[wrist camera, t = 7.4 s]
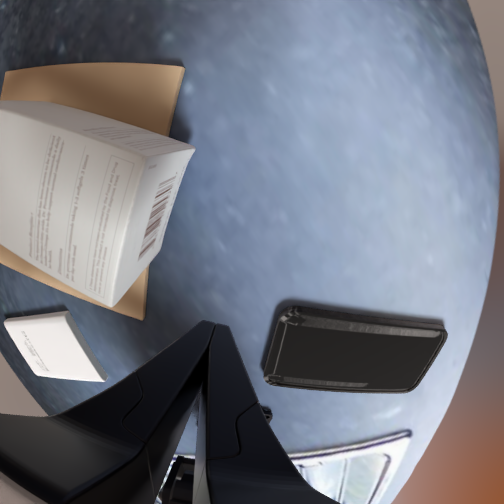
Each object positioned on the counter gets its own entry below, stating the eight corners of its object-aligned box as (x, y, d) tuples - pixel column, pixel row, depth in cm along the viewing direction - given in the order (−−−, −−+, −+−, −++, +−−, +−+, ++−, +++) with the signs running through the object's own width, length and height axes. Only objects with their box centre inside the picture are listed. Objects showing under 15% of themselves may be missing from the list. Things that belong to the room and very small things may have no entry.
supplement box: (199, 145, 16) (47, 96, 15) (150, 156, 9) (-29, 99, 8) (161, 252, 19) (28, 189, 18) (110, 315, 12) (-40, 219, 11)
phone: (282, 309, 20) (452, 330, 20) (281, 300, 21) (446, 322, 21) (260, 384, 23) (412, 394, 23) (261, 375, 24) (408, 386, 24)
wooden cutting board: (145, 316, 22) (142, 320, 21) (2, 259, 21) (-1, 262, 21) (185, 68, 15) (182, 66, 14) (10, 72, 14) (5, 71, 14)
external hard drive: (110, 372, 26) (42, 369, 28) (72, 306, 23) (9, 315, 25) (104, 383, 24) (36, 377, 26) (63, 316, 22) (1, 322, 23)
